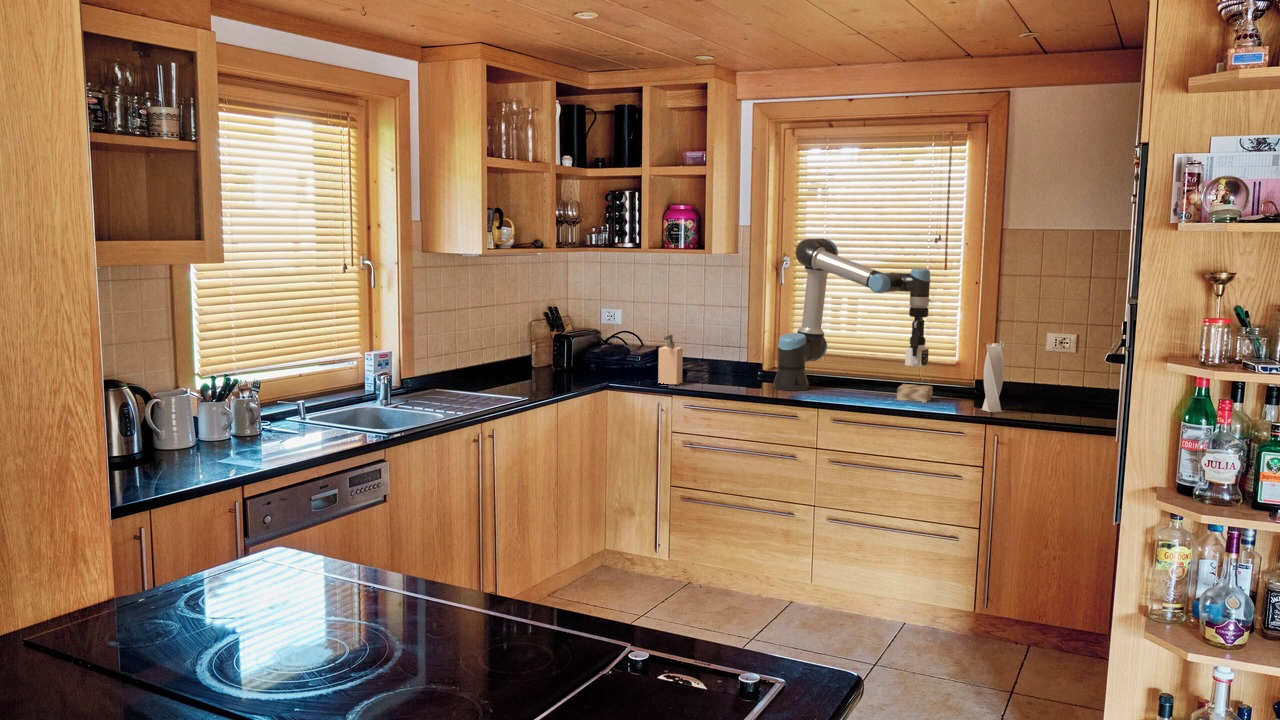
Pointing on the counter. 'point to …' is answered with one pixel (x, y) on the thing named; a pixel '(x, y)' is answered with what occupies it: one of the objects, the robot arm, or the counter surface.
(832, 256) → the robot arm
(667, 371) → the soap dispenser
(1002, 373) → the skyscraper
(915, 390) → the base block
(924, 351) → the medicine bottle
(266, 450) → the counter surface
